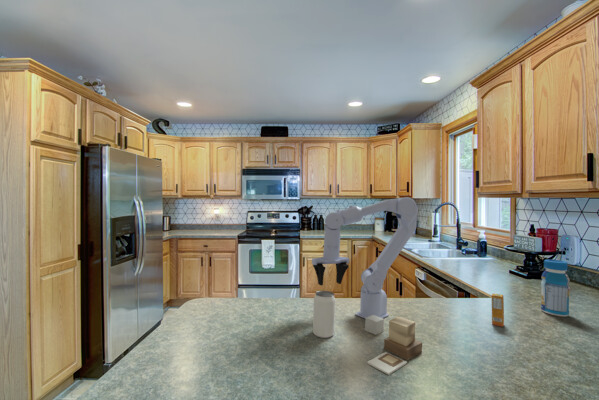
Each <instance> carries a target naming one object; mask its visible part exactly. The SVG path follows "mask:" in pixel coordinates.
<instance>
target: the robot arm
mask: <svg viewBox="0 0 599 400" xmlns="http://www.w3.org/2000/svg"><path fill="white" fill-rule="evenodd" d="M385 211H386V212H392V213H394V215H395V216H396V219H397V221H398V224H399V226H398V227H397V229H396V230H395V232H394V233H393V235H392V237H391V238H390V239H389V240H388V242H387V243H386V245H385V246H384V248H382V249H383V250H382V251H381V252H380V254H379V255H378V257H377V258H376V260H375V261H374V262H373V263H371V264H370V265H369V266H368V268H367V269H365V270H363V271H362V272H361V275H360V280H361V282H362V283H363V284H362V286H361V287H360V305H359V307H360V309H359V311H357V312H355V313H354V314H355V315H356V316H358V317H361V318H363V319H366V317H369V316H371V315H375V316H378V317H380V318H383V319H384V318H386V317H389V316H390V314H389V313H387V312H388V310H387V308H388V296H387V294H386V291H385V290H383V288H384V287H383V286H384V282H385V279H386V278H387V274H388V271H389V269H390V267H391V266H392V265H393V263H394V262H395V261H396V259H397V257H398V256H399V254H400V253H401V252H402V250H403V248H404V247H405V246H406V244H407V243H408V241H409V240H410V239H411V237H412V235H413V234H414V233H415V231H416V229H417V224H418V222H417V221H418V213H419V208H418V205H417V203H416V201H415V199H413V198H412V197H409V196H406V197H405V196H404V197H397V198H391V199H383V200H382V201H378V202H375V203H372V204H370V205H366V206H363V207H360V206H357V205H353V204H351V205H349V206H348V207H347V208H344V209H341V210H340V209H336V212H329V213H328V214H327V215H326V217H325V219H324V224H325V227H324V231H325V232H324V237H323V253H322V255H323V256H322V257H321V256H320V257H313V258H311V265H312V267H313V268H314V271H315V274H316V279H317V284H318V285H319V286H323V285H324V276H325V275H324V274H325V271H326V267H325V266H324V265H331V264H333V265H335V270H336V279H335V280H336V283H337V284H339V285H341V284H342V283H343V278H344V275H346V274H345V273H346V272H347V270H348V268H349V264H350V258H349V257H348V256H347V257H346V256H340V250H341V227H342V226H343V227H344V226H349V225H352V224H354V223H355V224H356V223H359V222H361V221H362V220H363V218H364V217H366V216H370V215H374V214H377V213H381V212H385ZM355 315H354V316H355Z"/></svg>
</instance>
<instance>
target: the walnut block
mask: <svg viewBox="0 0 599 400" xmlns="http://www.w3.org/2000/svg"><path fill="white" fill-rule="evenodd" d="M383 349H385V350H386V351H388V352H390V353H392V354H395V356H398V357H399V358H402V359H404V360H405V361H408V360H410V359H412V358H414V357H416V356H418V355H420V354H422V352H423V342H422V341H419V340H417V339H415V341H413V342H412V343H410V344H409V345H407V346H404V345H402V344H399V343H397V342H394V341H392V340H389V336H388V337H386V338H384V340H383Z"/></svg>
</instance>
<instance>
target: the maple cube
mask: <svg viewBox="0 0 599 400" xmlns="http://www.w3.org/2000/svg"><path fill="white" fill-rule="evenodd" d="M388 337H389V340H392V341H394V342H397V343H399V344H402V345H404V346H407V345H409V344H410V343H412V342H413V341H415V340H416V321H413V320H410V319H407V318H404V317H401V316H396V317H394V318H392V319H390V320H389V321H388Z"/></svg>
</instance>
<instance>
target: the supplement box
mask: <svg viewBox="0 0 599 400" xmlns="http://www.w3.org/2000/svg"><path fill="white" fill-rule="evenodd" d="M504 303H505V302H504V295H503V294H499V293H492V294H491V325H493V326H497V327H502V328H503V327H504V326H505V309H504V308H505V307H504V306H505V304H504Z"/></svg>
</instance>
